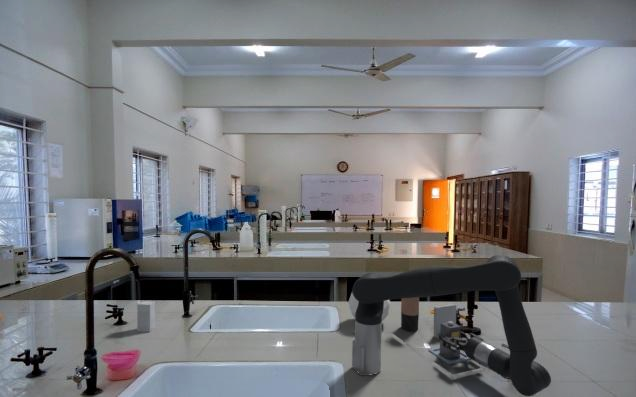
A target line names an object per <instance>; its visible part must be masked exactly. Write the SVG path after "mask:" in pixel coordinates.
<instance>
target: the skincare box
mask: <svg viewBox="0 0 636 397" xmlns="http://www.w3.org/2000/svg"><path fill="white" fill-rule="evenodd" d="M136 308H137V309H136V310H137V312H136V313H137V318H136V319H137V321H136V322H137V323H136V325H137V326H136V328H137V332H145V333H146V332H147V333H151V332H152V331H153V330H155V329H156V301H143V300H142V301H141V302H139V303H137V305H136Z"/></svg>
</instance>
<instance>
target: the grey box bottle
mask: <svg viewBox="0 0 636 397" xmlns="http://www.w3.org/2000/svg"><path fill="white" fill-rule="evenodd" d="M461 328H462V327H461V326H460V325H459V324H457V323H456V324H455V323H453V322H452V321H448V322H445V323H441V326H440V333H441V334H443V335H445V336H447V337H449V338H453V337H456V338H460V335H461V332H462V330H461ZM449 341H451V340H449ZM451 342H452V341H451ZM442 344H443V341H441V340H439V347H440V350H439V354H440V355H442V356H443V357H445V358H446V359H447V358H448V360H452V359H454V358H455V359H456V358H459V357H461V354H460V351H461V350H459V349H457V352H453V351H451V350H449V349H448V348H446V347H444V346H442ZM455 344H457V340H455Z"/></svg>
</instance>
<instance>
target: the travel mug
mask: <svg viewBox="0 0 636 397" xmlns="http://www.w3.org/2000/svg"><path fill="white" fill-rule="evenodd" d="M400 300H401V305H400V306H401V309H400V311H401V312H400V321H401V322H400V326H401V327H400V328H401V330H403V331H406V332H409V333H414V332H417V331H419V316H420V297H418V298H401V299H400Z"/></svg>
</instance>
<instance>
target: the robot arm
mask: <svg viewBox="0 0 636 397" xmlns="http://www.w3.org/2000/svg"><path fill="white" fill-rule="evenodd" d="M521 280H522V273H521V270H520V267H519V266H518V264H517V263H516V261H515V260H514V259H513V258H511V257H510V256H507V255H504V254H495V255H493V256H491V257H490V258H489V259H487V261H486V262H484V263H480V264H475V265H469V266H453V265H452V266H451V265H432V266H425V267H418V268H414V269H413V268H412V269H410V270H407V271H403V272H401V273H398V274H394V275H391V276H386V277H381V276H379V275H378V274H376V273H372V272H368V273H366V274H363V275H362V276H360V277H359V278H358V279H356V281H355V282H354V284H353V286H352V290H351V293H353V296H354V297H355V299H356V300H357V301H359V303H358V307H357V310H356V313H355V317H354V321H355V322H354V325H355V326H354V340H352V343H351V344H352V346H351V347H352V348H351V350H352V351H351V352H352V353H351V358H352V359H351V366H353V367H354V368H355V369H356V370H357V371H358V372H359V373H360V374H375V373H378V372H379V371H380V369H382V366H381V365H382V326H383V325H382V324H383V321H382V314H383V308H384V301H385V300H389V301H391V300H397V299H398V300H399V299H402V298H418V297H419V298H430V297H438V296H439V297H440V296H446V295H453V294H454V295H455V294H460V293H466V292H467V293H469V292H485V291H486V292H488V291H491V292H495V293H494V294H495V295H496V298H497V301H498V305H499V310H500V315H501V320H502V326H503V331H504V335H505V339H506V342H507V345H508V346H507V347H508V349H509V353H507V352H506V351H504V350H502V349H500V348H498V347H497V346H495V345H493V344H491V343H489V342H487V341H485V340H484V338H483V337H481V336H479V335H477V334H475V333H473V332H469V333H467V332H466V333H465V332H463V331H461V335H460V338H456V337H453V338H449V337H447V336H445V335H443V334H441V333H439V339H440V340H441V341H443V344H442V346H444V347H446V348H448V349H449V350H451V351H453V352H457V349H459V350H460V351H462V352H464V353H465V354H466V355H467V357H468V358H470V360H471V361H473V362H476V363H477V364H479V365H480V366H482V367H483V368H486V369H488V370H491V371H492V372H494V373H496V374H497V375H499V376H500V377H502V378H503V377H504V378H510V381H511V383H512V385H513V386H514V388H515V390H516V391H517V392H518V393H519V394H520V395H522V396H525V397H533V396H535V395H536V394H538V393H540V392H542V391H543V390H544V389H547V388H548V387H549V386H550V385H551V382H552V377H551V375H550V373H549V370H547V369H546V368H545V367H544V366H543V365H542V364H541V363H539V362H537V361H535V359H536V358H537V356H538V351H537V350H538V349H537V346H536V342H535V339H534V334H533V331H532V329H531V326H530V323H529V319H528V316H527V313H526V310H525V308H524V305H523V301H522V298H521V293H520V288H519V285H520V283H521ZM439 339H438V340H439ZM440 340H439V341H440ZM449 340H451V341H452V342H451V341H449ZM455 340H457V344H455ZM353 367H352V368H353ZM354 368H353V369H354ZM355 369H354V370H355ZM356 370H355V371H356ZM357 371H356V372H357ZM358 372H357V373H358ZM380 372H381V371H380ZM380 372H379V373H380ZM359 373H358V374H359ZM379 373H378V374H379ZM360 374H359V375H360Z"/></svg>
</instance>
